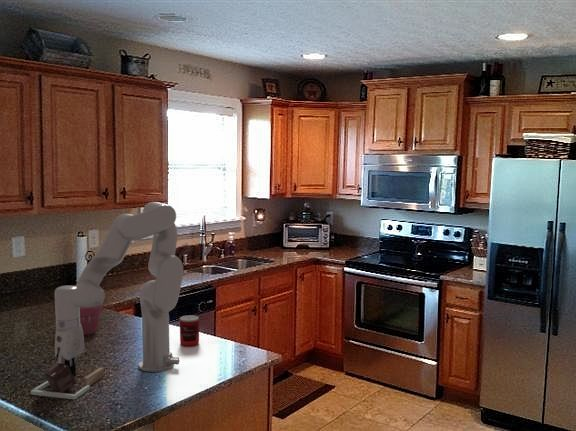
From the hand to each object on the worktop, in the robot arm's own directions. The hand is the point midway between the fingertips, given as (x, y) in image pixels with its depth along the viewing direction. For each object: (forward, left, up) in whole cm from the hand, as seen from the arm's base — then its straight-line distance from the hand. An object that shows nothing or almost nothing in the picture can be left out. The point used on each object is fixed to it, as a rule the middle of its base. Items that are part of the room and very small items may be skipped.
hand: (70, 376), depth 191 cm
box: (-1, +4, -2) cm, 5 cm away
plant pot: (+27, -52, -3) cm, 59 cm away
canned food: (-23, -48, -3) cm, 53 cm away
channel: (-1, -4, -3) cm, 5 cm away
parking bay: (-1, +6, -3) cm, 7 cm away
